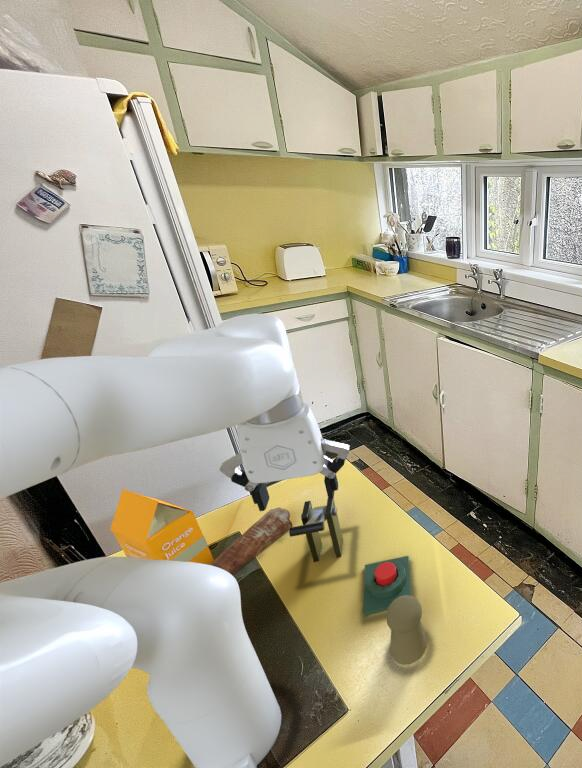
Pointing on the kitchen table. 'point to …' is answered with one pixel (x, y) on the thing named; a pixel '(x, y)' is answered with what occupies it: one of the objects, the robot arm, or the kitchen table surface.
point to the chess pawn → (406, 630)
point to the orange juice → (158, 530)
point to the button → (385, 573)
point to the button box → (383, 596)
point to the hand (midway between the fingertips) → (299, 498)
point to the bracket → (334, 530)
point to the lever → (311, 523)
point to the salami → (254, 540)
